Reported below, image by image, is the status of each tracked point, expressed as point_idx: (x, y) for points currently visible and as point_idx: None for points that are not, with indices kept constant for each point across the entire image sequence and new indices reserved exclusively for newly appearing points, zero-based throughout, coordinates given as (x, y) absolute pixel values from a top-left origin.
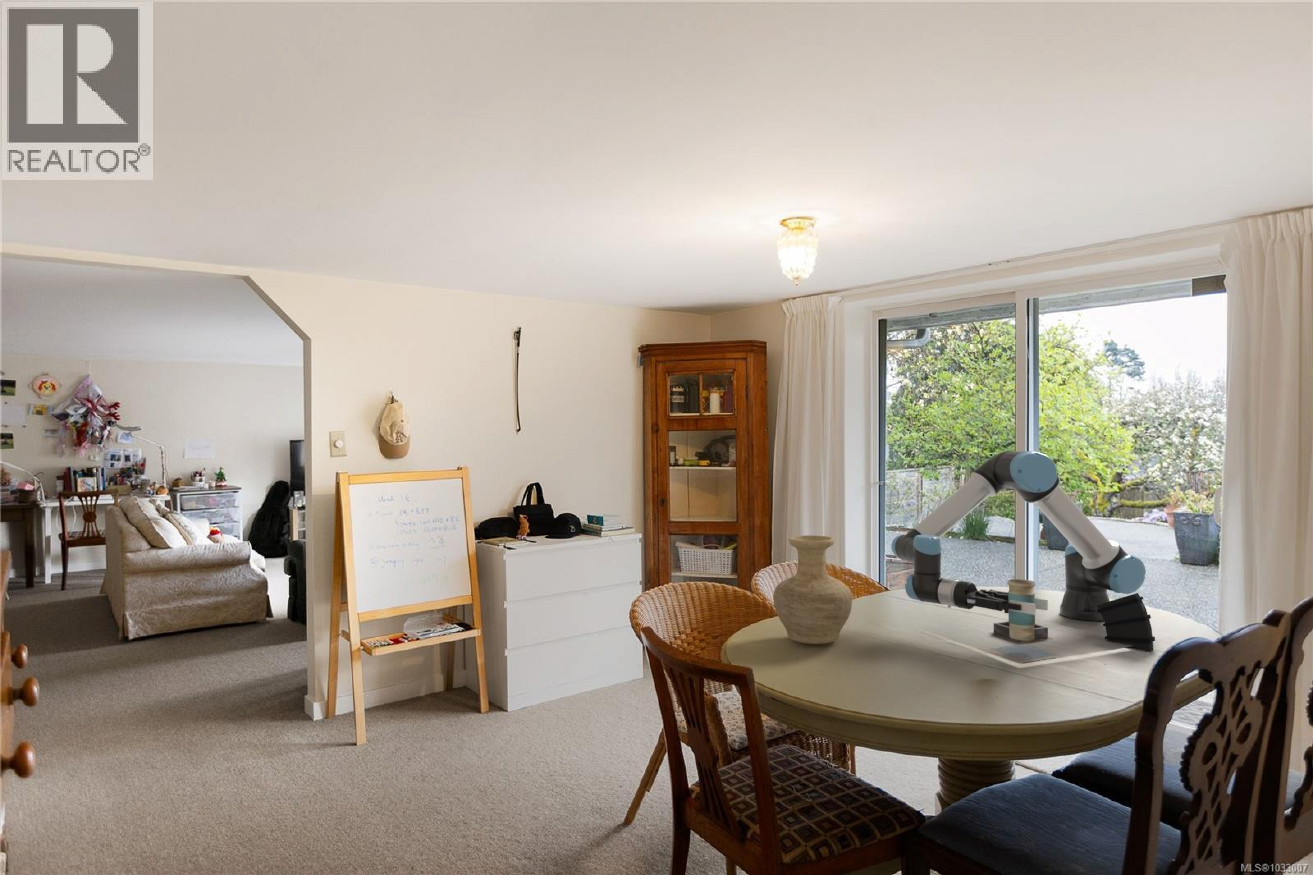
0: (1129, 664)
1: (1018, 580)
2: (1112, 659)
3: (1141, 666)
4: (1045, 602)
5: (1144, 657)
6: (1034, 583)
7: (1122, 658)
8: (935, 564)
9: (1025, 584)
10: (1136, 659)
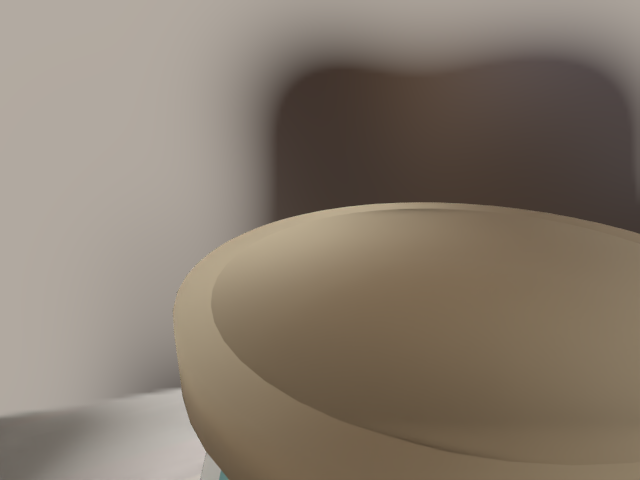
0: (161, 417)
1: (397, 331)
2: (115, 471)
3: (166, 392)
4: None
5: (22, 419)
6: (391, 205)
7: (76, 455)
8: None
9: (563, 221)
10: (69, 425)
